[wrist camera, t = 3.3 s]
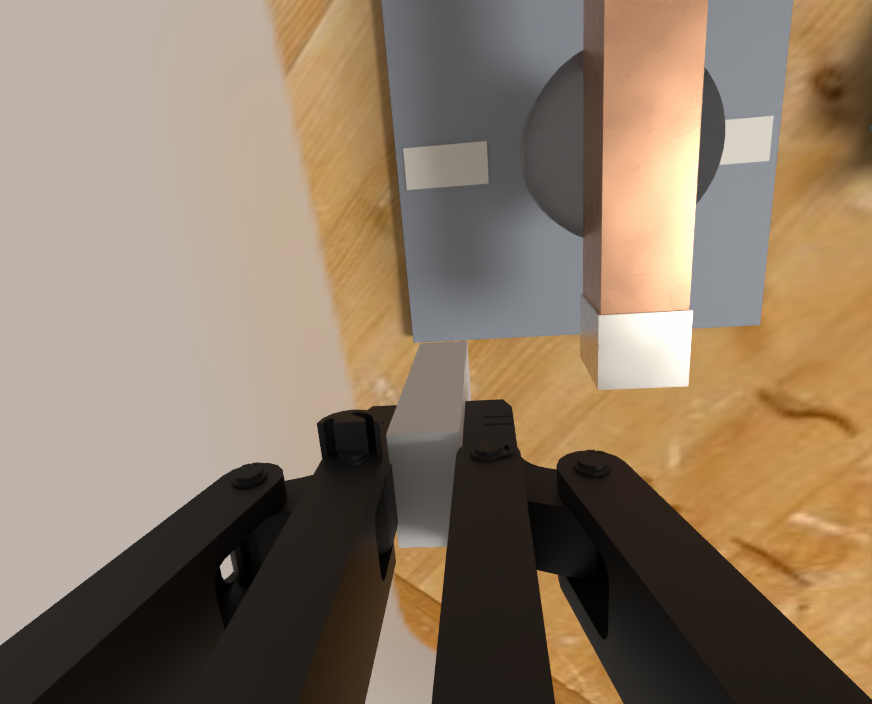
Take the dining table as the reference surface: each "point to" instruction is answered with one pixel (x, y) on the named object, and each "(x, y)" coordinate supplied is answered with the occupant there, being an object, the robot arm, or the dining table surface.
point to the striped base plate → (503, 179)
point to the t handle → (630, 179)
